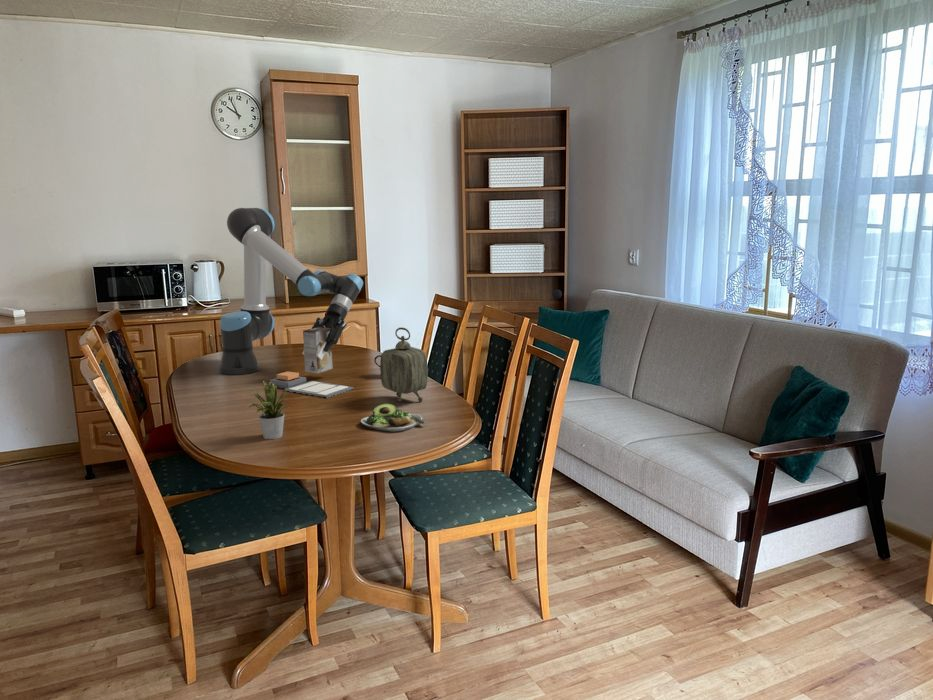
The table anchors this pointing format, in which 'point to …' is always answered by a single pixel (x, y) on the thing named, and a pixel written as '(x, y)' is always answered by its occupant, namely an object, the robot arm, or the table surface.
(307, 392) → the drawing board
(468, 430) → the table surface
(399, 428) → the salad plate
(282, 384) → the button housing
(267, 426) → the house plant
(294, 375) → the button
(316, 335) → the coffee box
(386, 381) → the tabletop clock
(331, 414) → the table surface
